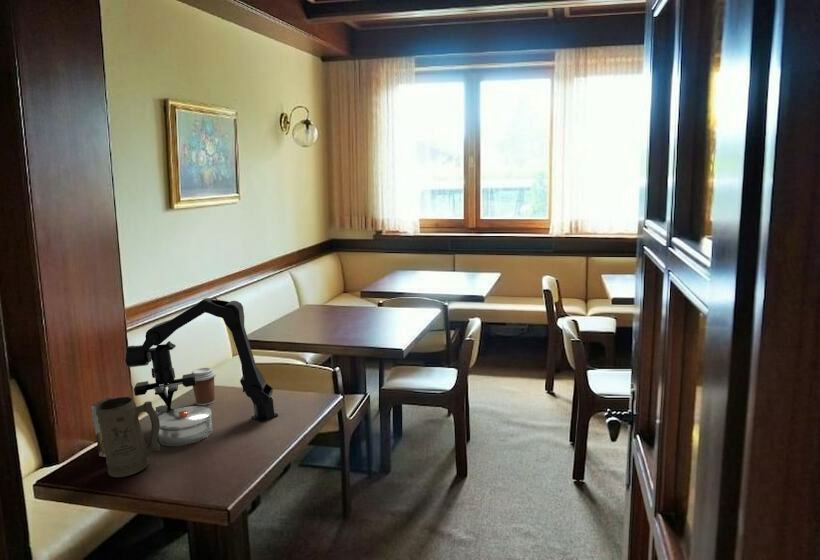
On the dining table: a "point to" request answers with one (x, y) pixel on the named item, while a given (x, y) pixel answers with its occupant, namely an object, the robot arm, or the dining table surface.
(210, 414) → the cooker lid
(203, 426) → the cooker pot
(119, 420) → the beer stein
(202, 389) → the coffee cup
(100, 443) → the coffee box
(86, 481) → the dining table surface
